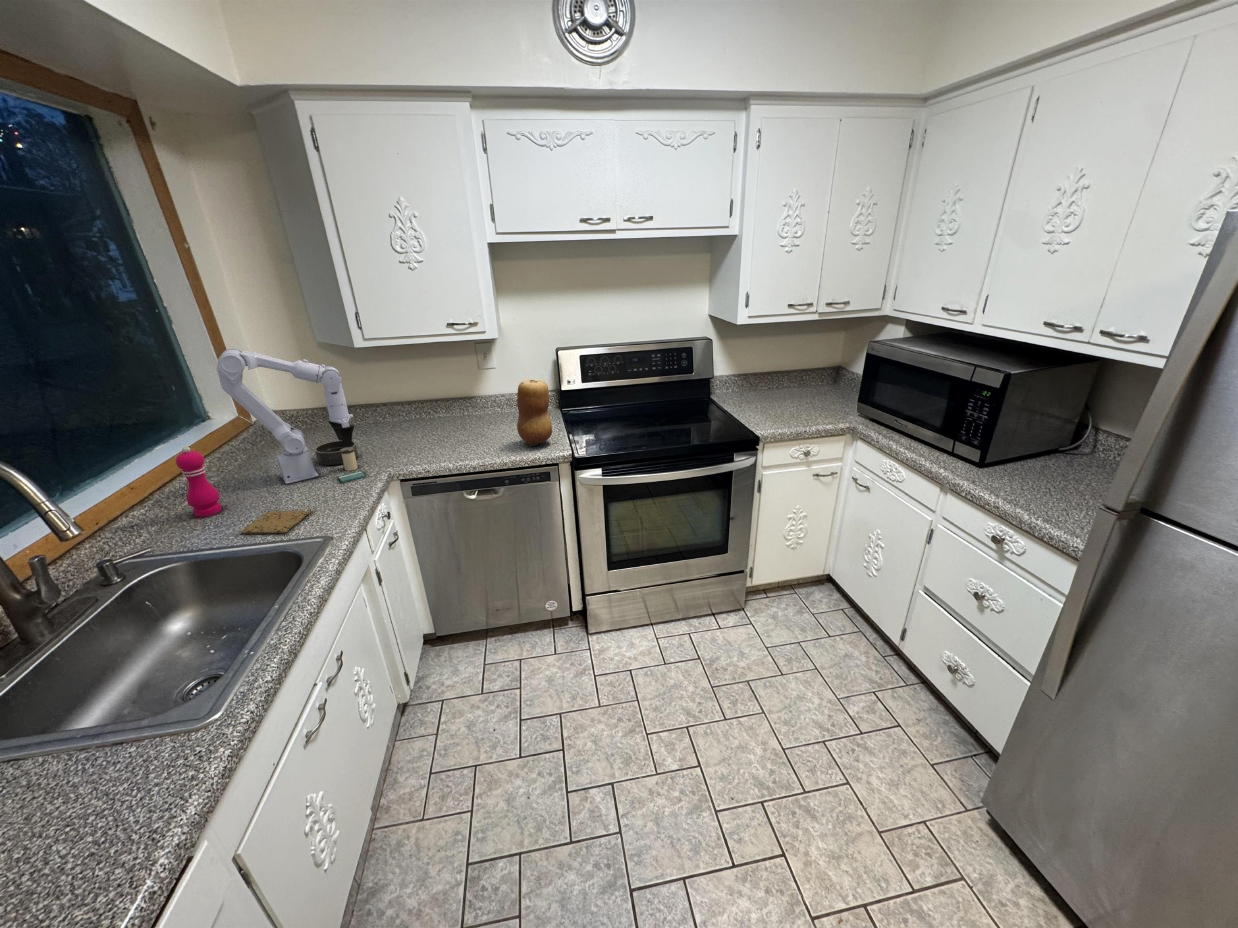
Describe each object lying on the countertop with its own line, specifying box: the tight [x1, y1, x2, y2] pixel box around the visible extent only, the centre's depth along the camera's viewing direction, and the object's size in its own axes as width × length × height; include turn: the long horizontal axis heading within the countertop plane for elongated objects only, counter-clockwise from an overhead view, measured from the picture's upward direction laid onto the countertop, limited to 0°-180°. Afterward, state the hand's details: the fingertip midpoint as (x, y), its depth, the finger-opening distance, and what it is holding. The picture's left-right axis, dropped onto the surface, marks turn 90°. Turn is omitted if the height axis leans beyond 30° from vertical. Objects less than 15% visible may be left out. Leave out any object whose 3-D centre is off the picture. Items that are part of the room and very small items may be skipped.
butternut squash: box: [516, 378, 553, 447], centre depth 191 cm, size 14×13×25 cm
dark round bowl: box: [313, 440, 359, 466], centre depth 181 cm, size 13×13×5 cm
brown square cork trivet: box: [241, 510, 312, 535], centre depth 138 cm, size 12×12×1 cm
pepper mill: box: [175, 446, 223, 518], centre depth 141 cm, size 7×7×20 cm
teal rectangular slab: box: [337, 470, 366, 483], centre depth 167 cm, size 7×5×1 cm
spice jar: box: [340, 447, 359, 472], centre depth 173 cm, size 4×4×7 cm
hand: (345, 442), depth 171 cm, fingers open, 7 cm apart
